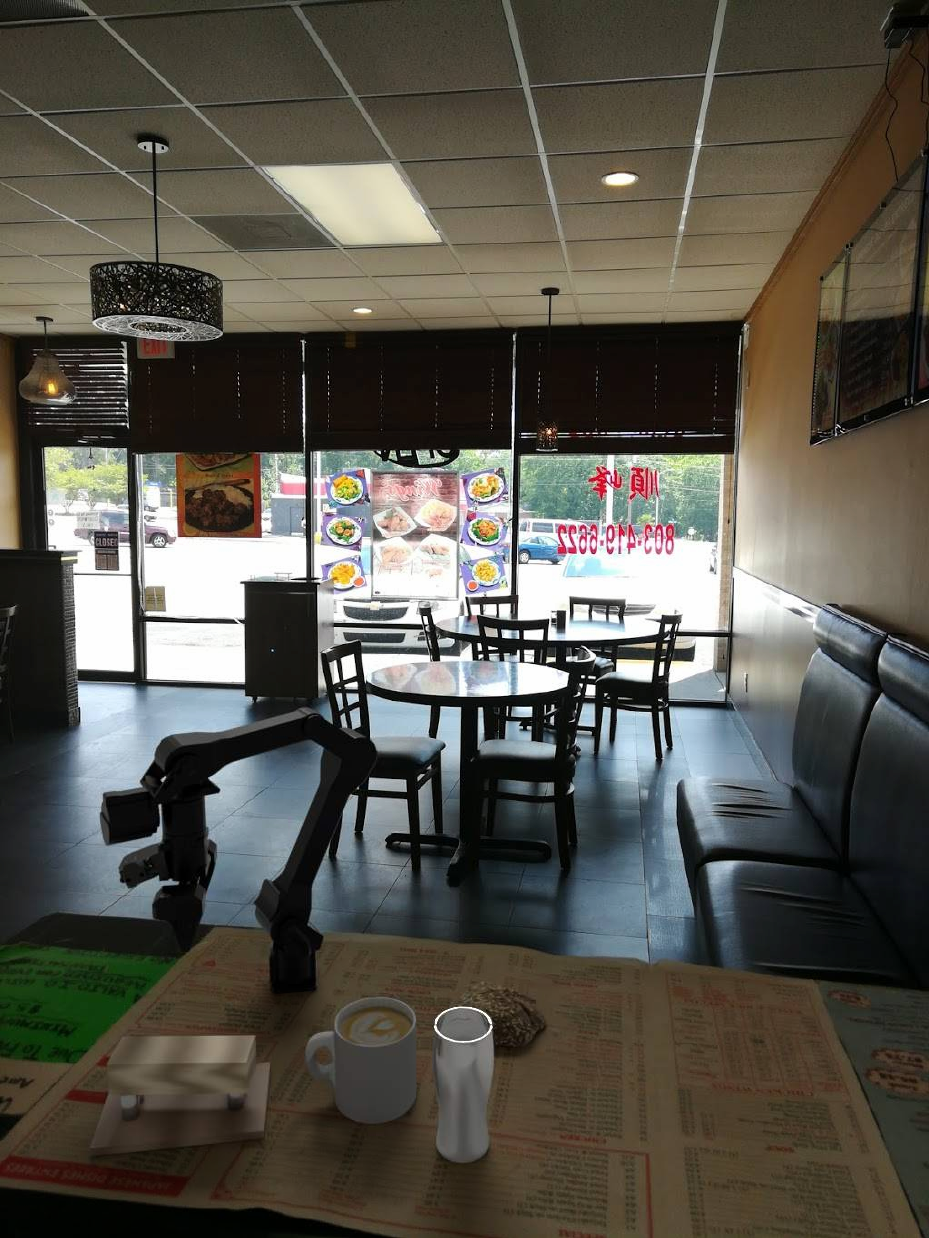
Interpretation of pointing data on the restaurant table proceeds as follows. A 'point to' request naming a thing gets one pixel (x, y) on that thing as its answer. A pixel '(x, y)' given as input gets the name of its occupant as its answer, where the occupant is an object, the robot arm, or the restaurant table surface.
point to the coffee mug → (369, 1059)
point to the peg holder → (182, 1119)
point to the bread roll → (505, 1013)
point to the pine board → (182, 1065)
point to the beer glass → (462, 1081)
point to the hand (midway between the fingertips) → (189, 934)
